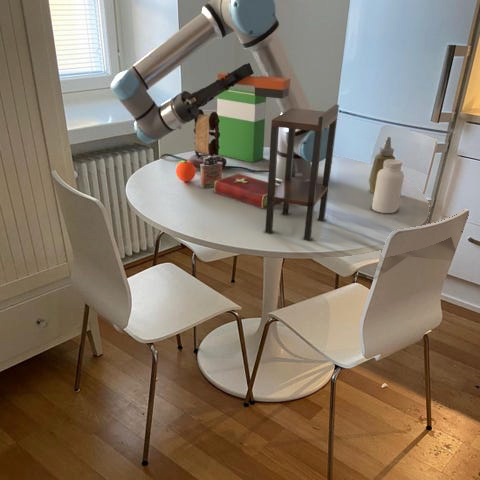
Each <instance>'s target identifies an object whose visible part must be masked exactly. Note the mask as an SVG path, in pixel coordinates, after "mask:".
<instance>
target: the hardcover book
mask: <svg viewBox="0 0 480 480" xmlns="http://www.w3.org/2000/svg"><path fill="white" fill-rule="evenodd" d="M279 185H280V184H277V183H275V188H277V187H278V186H279ZM213 189H214V193H216V194H217V195H220V196H224V197H227V198H230V199H232V200H233V199H234V200H236V201H239V202H242V203H245V204H249V205H252V206H254V207H257V208H261V209H267V193H268V181H266V180H262V179H259V178H255V177H252V176H248V175H245V174H241V173H236V174H235V173H234V174H232V175H229V176H226V177H222V179H219V180H216V181H215V183H214V187H213ZM278 203H279V202H276V201H274V205H276V204H278Z"/></svg>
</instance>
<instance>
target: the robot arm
mask: <svg viewBox="0 0 480 480" xmlns="http://www.w3.org/2000/svg"><path fill="white" fill-rule="evenodd" d="M279 29H280V23H279V21H278V17H277V16H276V3H275V0H209V1H208V2H207V3H206V4H205V5H203V6H202V9H201V12H200V13H199V14H198V15H197V16H196V17H194V18H193V19H192V20H190V21H189V22H188V23H187V24H185V25H184V26H183V27H181V28H180V29H178V30H177V31H176V32H175V33H173V34H172V35H171V36H170V37H168V38H167V39H166V40H164V41H163V42H162V43H160V44H159V45H158V46H157V47H155V48H154V49H153V50H151V51H150V52H149V53H148V54H146V55H145V56H144V57H142V58H141V59H140V60H138V61H137V62H136V63H134V64H133V65H132V66H130V67H129V68H128V69H127V70H124V71H121V72H119V73H118V74H116V76H115V77H114V79H113V80H112V82H111V84H110V90H111V92H112V93H113V94H114V96H115V97H116V99H117V100H119V102H120V103H121V104H122V106H124V108H125V110H127V111H128V113H129V114H130V115H131V116H132V117H133V119H134V120H135V122H134V125H133V128H134V129H133V130H134V132H135V133H136V136H137V138H138V140H140V141H141V142H143V143H144V144H152V143H155V142H157V141H159V140H161V139H163V138H164V137H166V136H167V135H169V134H170V133H172V132H173V131H176V130H182V127H183V126H184V125H185V124H187V123H190V122H192V121H194V119H195V118H197V117H198V115H199V109H200V108H201V107H204V106H206V105H207V104H208V103H209V102H211V101H213V100H214V99H215V98H217V95H219V94H221V93H222V92H224V91H228V90H229V88H234V86H236V84H235V83H237V82H239V81H240V80H242V79H244V78H246V77H247V76H253V75H254V74H255V72H254V70H253V68H252V65H251V64H250V62H248V63H244V64H243V65H241V66H239V67H238V68H236V69H234V70H233V71H231V72H227V73H226V74H228V75H226V76H225V79H224V78H221V79H220V80H218V79H216V80H215V81H214V82H212V83H210V84H209V85H207V86H205V87H203V88H200V89H198V90H195V91H194V92H192V93H191V92H189V91H188V90H183V91H180V93H178V94H177V95H174V97H171V98H170V99H168V100H166V101H165V102H163V103H161V104H160V105H159V106H158V104H157V103H156V102H155V100H153V98H152V97H151V96H150V94H149V92H148V90H150V89H151V88H152V87H153V86H155V85H156V84H157V83H159V82H161V81H162V80H163V79H164V78H165V77H167V76H168V75H169V74H171V73H172V72H174V71H175V70H176V69H177V68H179V67H180V66H181V65H182V64H184V63H185V62H187V61H188V60H190V58H192V57H194V56H195V55H196V54H197V53H199V52H200V51H201V50H203V49H204V48H205V47H207V46H208V45H209V44H211V43H212V42H213V41H215V40H216V39H218V40H222V39H224V38H225V37H227V36H228V35H230V34H232V33H235V34H236V37H237V38H238V40H239V42H240V44H241V46H242V49H244V50H247V51H250V52H251V53H252V56H253V58H254V59H255V62H256V64H257V66H258V67H259V70H260V72H261V74H262V76H268V77H279V78H290V87H289V93H288V96H286V97H284V98H282V99H281V98H274V99H275V102H276V103H277V106H278V107H279V110H280V113H279V115H281V114H283V113H284V112H286V111H288V110H290V109H291V108H296V109H306V110H315V111H319V110H318V109H317V108H314V107H312V106H311V104H310V101H309V99H308V96H307V95H306V92H305V90H304V88H303V86H302V84H301V82H300V80H299V78H298V75H297V73H296V71H295V69H294V67H293V65H292V62H291V60H290V58H289V55H288V54H287V52H286V51H287V50H286V49H285V46H284V45H283V42H282V41H281V38H280V36H279V34H278V32H279ZM288 131H289V128H283V127H279V135H278V150H277V166H276V181H275V183H278V184H281V183H282V182H283V181H284V180H285V171H286V158H287V145H288ZM328 133H329V126H328V127H326V128H325V129H324V130H323V133H322V142H321V151H320V160H319V163H321V162H322V161H325V159H326V150H327V142H328ZM314 136H315V131H309V130H300V129H296V130H295V142H294V155H293V167H292V179H294V180H300V181H307V182H310V174H311V165H312V155H313V145H314ZM164 157H171V158H174V159H177V160H180V161H188V158H184V157H181V156H178V155H174V154H170V153H163V154H161V155H160V156H159V158H164ZM222 169H240V170H246V171H248V172H253V173H269V169H251V168H248V167H244V166H237V165H225V166H223V167H222Z"/></svg>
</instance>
